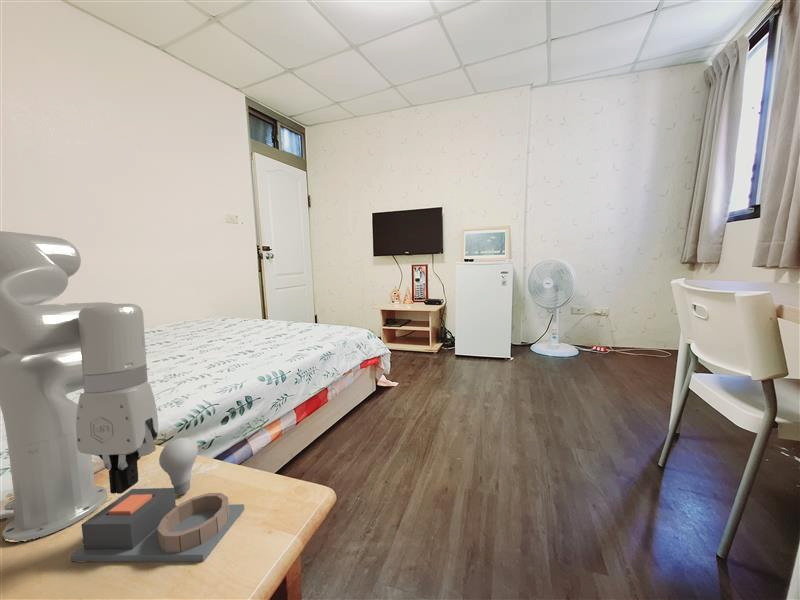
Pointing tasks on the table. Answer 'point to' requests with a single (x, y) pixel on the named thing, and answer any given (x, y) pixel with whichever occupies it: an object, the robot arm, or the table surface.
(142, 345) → the robot arm
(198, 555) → the panel
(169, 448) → the lightbulb
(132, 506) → the switch button
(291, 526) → the table surface
